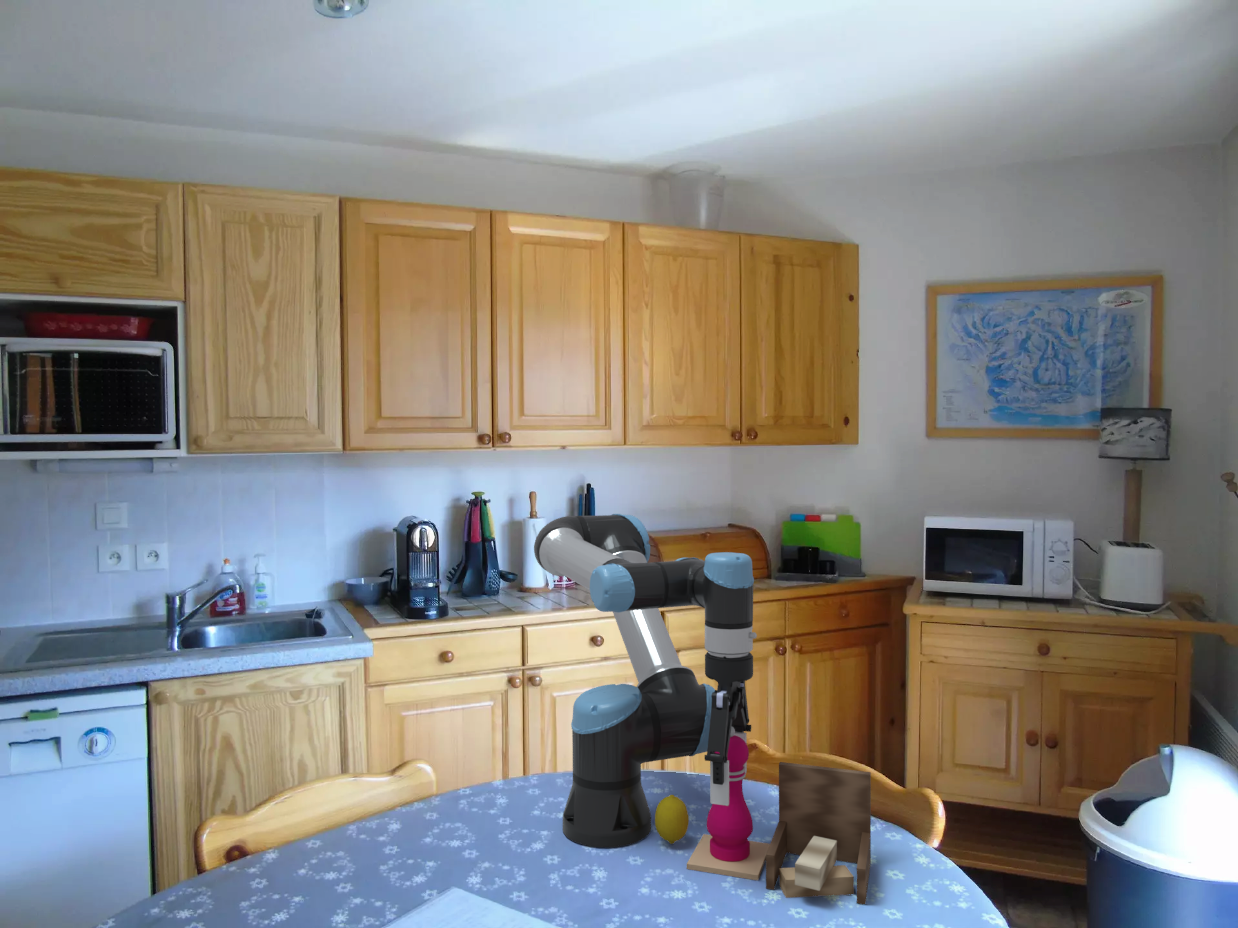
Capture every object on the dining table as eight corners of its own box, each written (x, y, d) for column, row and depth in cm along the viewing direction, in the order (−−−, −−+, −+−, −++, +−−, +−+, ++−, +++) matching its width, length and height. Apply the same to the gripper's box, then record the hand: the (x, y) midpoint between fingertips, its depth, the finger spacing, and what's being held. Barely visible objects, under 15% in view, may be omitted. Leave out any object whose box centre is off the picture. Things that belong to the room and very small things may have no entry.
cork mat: (686, 868, 130) (686, 863, 130) (703, 838, 141) (703, 833, 141) (758, 880, 127) (758, 874, 127) (770, 848, 137) (770, 843, 137)
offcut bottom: (785, 900, 122) (785, 879, 122) (779, 888, 125) (779, 867, 125) (853, 897, 123) (853, 876, 122) (845, 885, 126) (845, 864, 126)
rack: (766, 888, 124) (765, 792, 124) (780, 848, 137) (779, 761, 137) (865, 904, 120) (865, 805, 119) (870, 861, 132) (870, 772, 132)
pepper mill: (712, 839, 138) (711, 717, 138) (756, 845, 136) (756, 721, 136) (702, 859, 132) (701, 730, 131) (748, 866, 129) (748, 735, 129)
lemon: (693, 839, 140) (693, 791, 140) (681, 854, 135) (681, 803, 135) (662, 833, 142) (662, 786, 142) (649, 847, 137) (649, 798, 137)
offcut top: (819, 890, 119) (819, 869, 118) (794, 884, 120) (795, 863, 120) (836, 860, 127) (836, 840, 127) (813, 855, 129) (813, 835, 129)
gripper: (736, 672, 120) (736, 822, 121) (766, 637, 144) (766, 762, 144) (685, 668, 123) (685, 815, 123) (722, 634, 146) (723, 757, 147)
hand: (729, 787), depth 134 cm, fingers open, 13 cm apart
